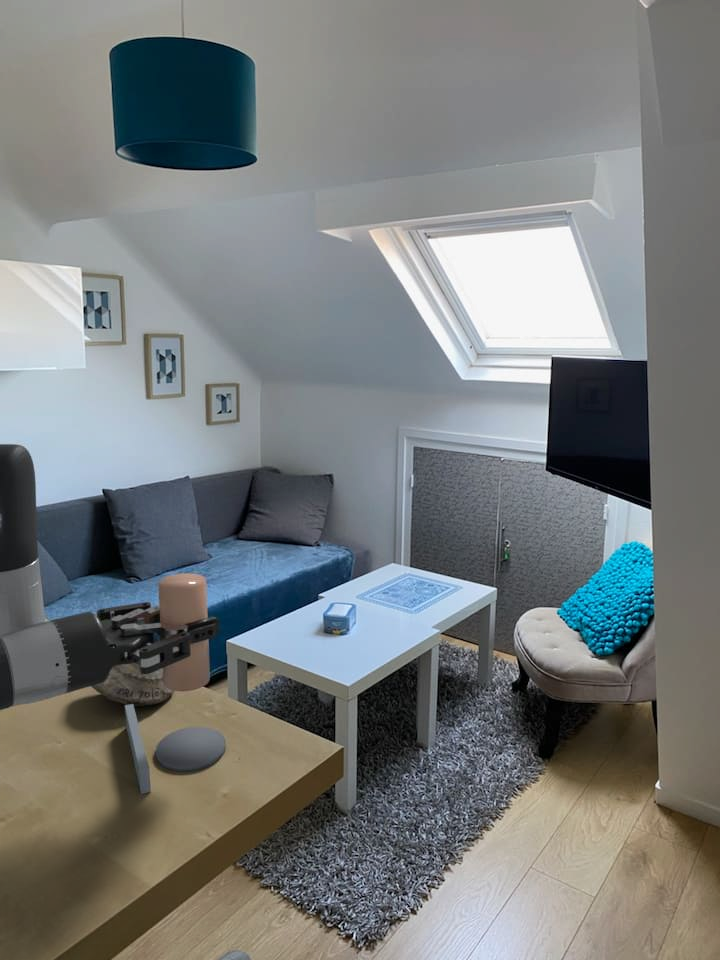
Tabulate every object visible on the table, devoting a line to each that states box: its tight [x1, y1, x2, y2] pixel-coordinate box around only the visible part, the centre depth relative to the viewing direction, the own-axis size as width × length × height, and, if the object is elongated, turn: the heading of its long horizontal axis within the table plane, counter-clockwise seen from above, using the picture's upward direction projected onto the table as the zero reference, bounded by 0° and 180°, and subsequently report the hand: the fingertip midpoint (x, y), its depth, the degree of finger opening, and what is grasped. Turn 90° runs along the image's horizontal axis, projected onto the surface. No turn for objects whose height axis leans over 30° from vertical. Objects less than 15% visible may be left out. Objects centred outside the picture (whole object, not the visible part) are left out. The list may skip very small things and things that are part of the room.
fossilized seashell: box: [90, 662, 175, 707], centre depth 99 cm, size 11×11×7 cm
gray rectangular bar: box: [124, 704, 152, 795], centre depth 85 cm, size 14×1×3 cm, turn 24°
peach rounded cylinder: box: [157, 572, 211, 692], centre depth 83 cm, size 5×5×12 cm
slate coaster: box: [155, 726, 227, 772], centre depth 87 cm, size 8×8×1 cm
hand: (205, 617), depth 85 cm, fingers closed on peach rounded cylinder, 5 cm apart
